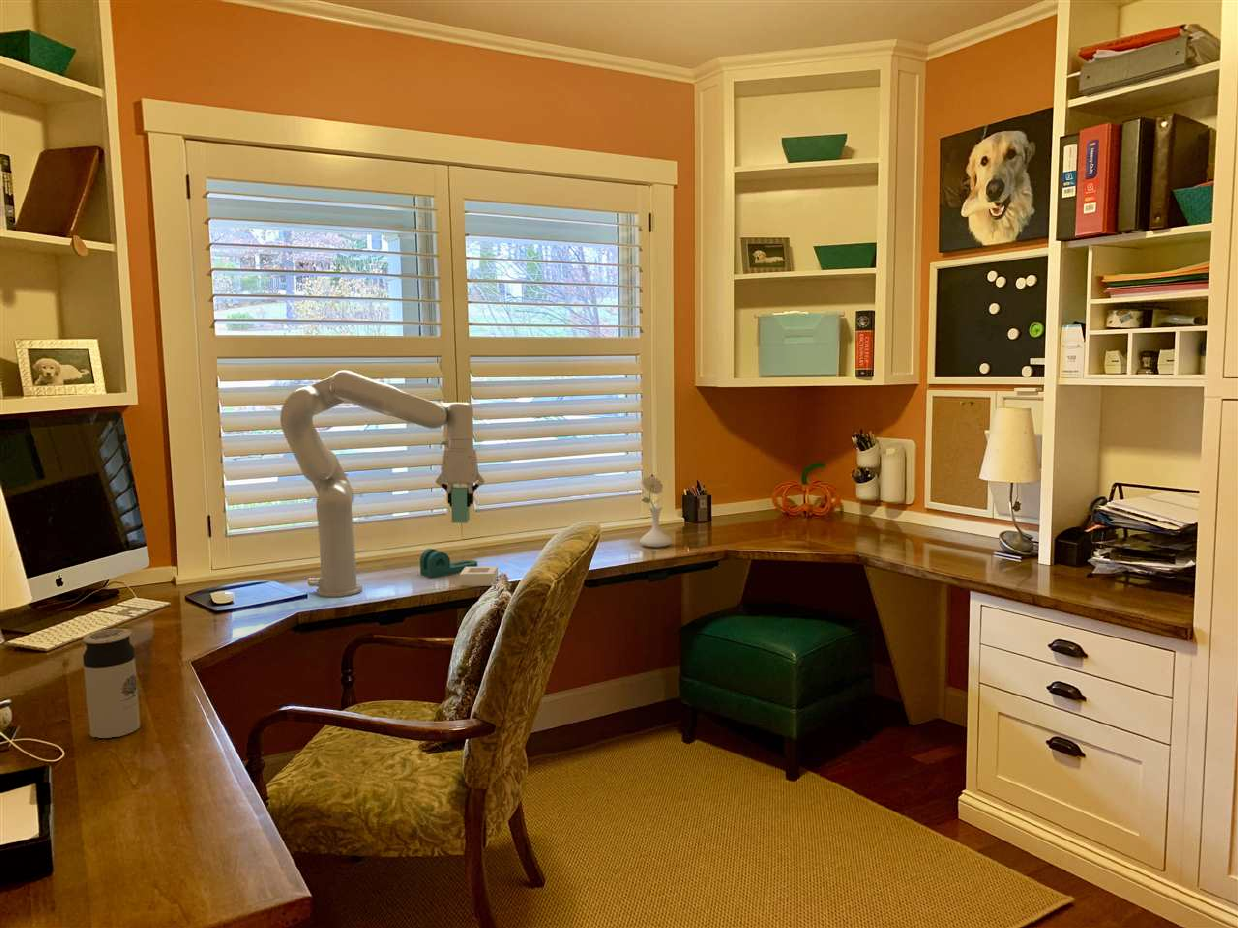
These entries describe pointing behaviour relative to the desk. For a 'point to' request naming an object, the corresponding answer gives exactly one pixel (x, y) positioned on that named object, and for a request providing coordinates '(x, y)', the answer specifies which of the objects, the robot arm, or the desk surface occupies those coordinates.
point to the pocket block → (478, 576)
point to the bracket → (441, 564)
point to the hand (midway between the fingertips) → (460, 505)
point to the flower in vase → (654, 516)
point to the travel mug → (111, 683)
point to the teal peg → (460, 505)
